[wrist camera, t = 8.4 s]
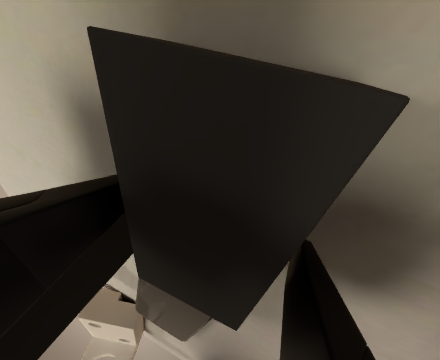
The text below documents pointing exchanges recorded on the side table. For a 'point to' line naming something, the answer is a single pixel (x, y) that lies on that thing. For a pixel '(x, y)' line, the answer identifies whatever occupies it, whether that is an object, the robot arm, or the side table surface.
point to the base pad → (227, 161)
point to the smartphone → (168, 311)
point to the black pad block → (67, 295)
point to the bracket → (111, 326)
